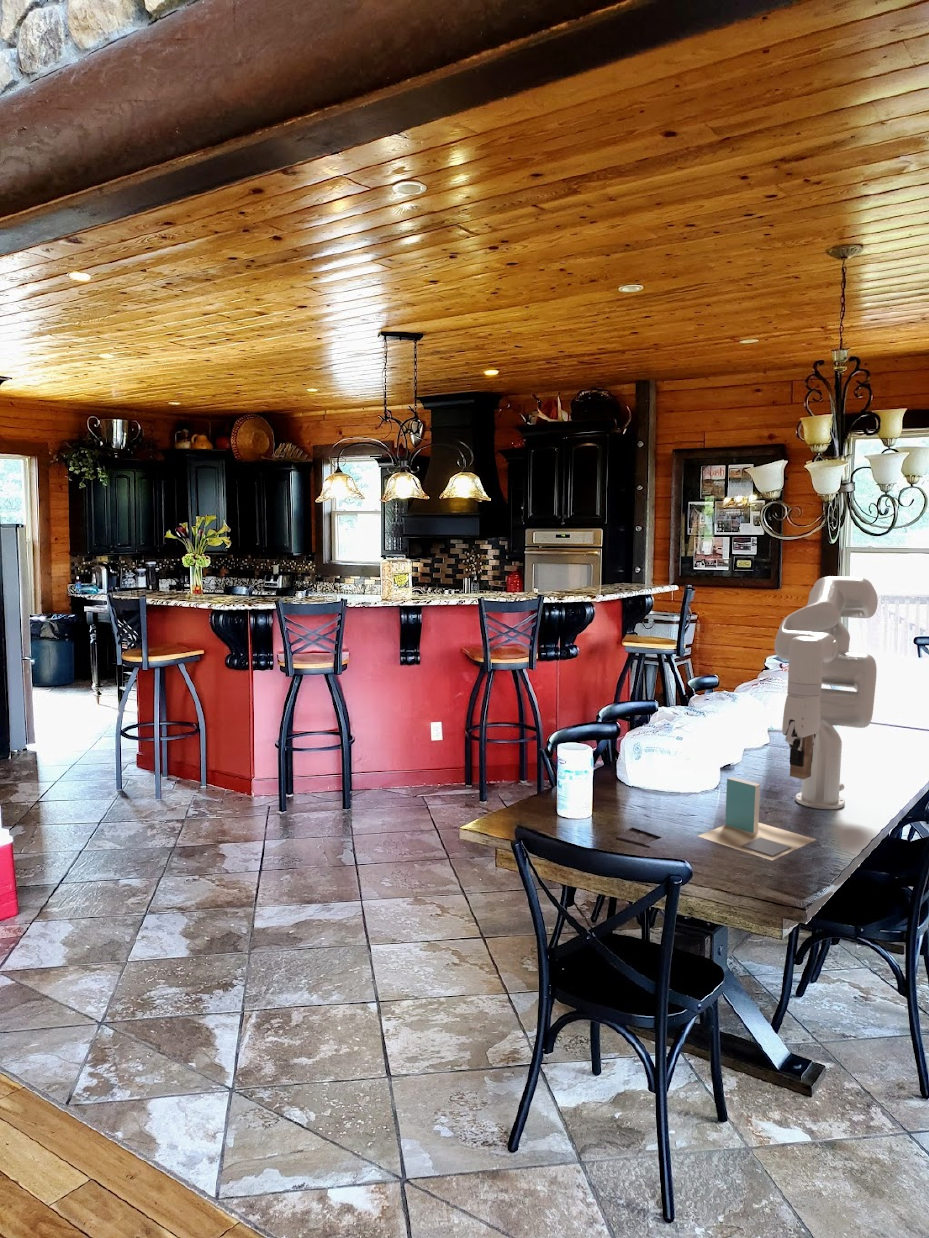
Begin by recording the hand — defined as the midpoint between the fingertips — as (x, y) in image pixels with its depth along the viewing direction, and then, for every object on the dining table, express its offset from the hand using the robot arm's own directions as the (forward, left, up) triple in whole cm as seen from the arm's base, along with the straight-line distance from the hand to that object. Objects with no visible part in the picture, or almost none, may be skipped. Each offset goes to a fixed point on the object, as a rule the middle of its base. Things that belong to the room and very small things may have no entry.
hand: (800, 762), depth 218 cm
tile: (+5, -12, -18) cm, 22 cm away
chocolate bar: (+23, -27, -20) cm, 40 cm away
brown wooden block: (0, 0, -3) cm, 3 cm away
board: (+8, -6, -19) cm, 22 cm away
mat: (+12, -1, -18) cm, 22 cm away
